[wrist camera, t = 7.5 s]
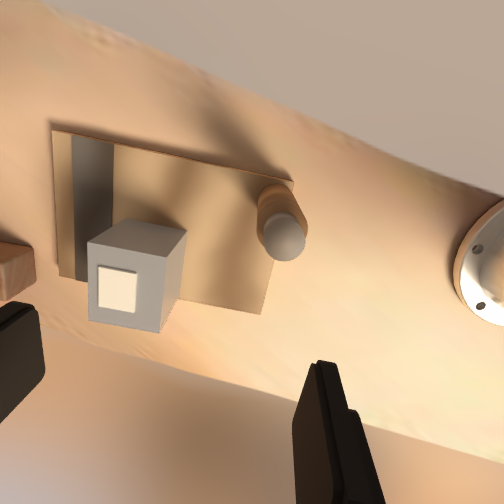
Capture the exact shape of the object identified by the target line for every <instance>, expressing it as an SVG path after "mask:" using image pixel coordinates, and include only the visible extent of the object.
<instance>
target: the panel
mask: <svg viewBox="0 0 504 504" xmlns="http://www.w3.org/2000/svg"><path fill="white" fill-rule="evenodd" d="M52 148H53V168H54V187H55V206H56V225H57V244H58V264H59V276H61V277H67V278H72V279H76V280H78V281H83V282H88V253H87V242H88V241H90V240H91V239H93V238H95V237H96V236H98V235H100V234H101V233H103V232H104V231H106V230H108V229H109V228H111V227H113V226H114V225H116V224H117V223H119V222H121V221H122V220H124V219H131V220H136V221H141V222H146V223H151V224H156V225H161V226H166V227H171V228H176V229H181V230H186V231H187V238H186V247H185V255H184V263H183V271H182V279H181V287H180V294H179V296H178V298H177V299H181V300H186V301H191V302H196V303H201V304H206V305H212V306H217V307H222V308H227V309H232V310H237V311H243V312H248V313H253V314H258V315H260V314H261V310H262V306H263V303H264V299H265V295H266V291H267V287H268V283H269V279H270V275H271V271H272V268H273V264H274V260H275V259H273V258H272V257H271V256H269V255H268V253H267V252H266V250H265V247H264V246H263V245H262V244H261V243H260V241H259V239H258V237H257V232H256V226H257V208H258V198H259V195H260V193H261V191H262V190H263V189H264V188H265V187H267V186H269V185H271V184H282V185H284V186H286V187H288V188H289V189H290V190H291V192H292V190H293V186H294V182H293V181H291V180H286V179H282V178H277V177H272V176H268V175H263V174H259V173H254V172H249V171H245V170H240V169H236V168H231V167H226V166H222V165H217V164H212V163H208V162H203V161H199V160H194V159H189V158H185V157H180V156H175V155H171V154H166V153H162V152H157V151H152V150H148V149H143V148H138V147H134V146H129V145H125V144H120V143H115V142H111V141H106V140H102V139H97V138H92V137H88V136H83V135H78V134H74V133H69V132H65V131H54V130H52Z"/></svg>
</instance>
